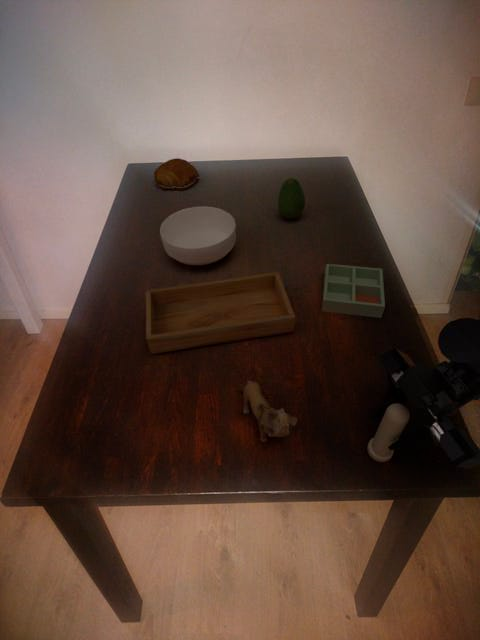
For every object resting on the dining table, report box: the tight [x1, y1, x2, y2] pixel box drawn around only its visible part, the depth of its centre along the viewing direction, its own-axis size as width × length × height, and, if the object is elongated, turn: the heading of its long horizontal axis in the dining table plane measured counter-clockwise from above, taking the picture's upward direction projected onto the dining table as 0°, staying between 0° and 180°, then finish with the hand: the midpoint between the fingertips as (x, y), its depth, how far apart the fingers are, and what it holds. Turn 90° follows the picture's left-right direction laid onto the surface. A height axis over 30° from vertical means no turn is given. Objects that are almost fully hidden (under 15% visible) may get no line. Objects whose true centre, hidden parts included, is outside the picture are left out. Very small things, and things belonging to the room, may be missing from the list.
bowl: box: [159, 205, 237, 266], centre depth 102 cm, size 20×20×8 cm
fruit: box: [277, 177, 306, 220], centre depth 111 cm, size 8×8×12 cm
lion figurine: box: [237, 380, 298, 443], centre depth 66 cm, size 15×5×9 cm, turn 35°
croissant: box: [153, 157, 200, 192], centre depth 131 cm, size 14×16×8 cm
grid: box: [321, 263, 386, 319], centre depth 89 cm, size 13×13×4 cm
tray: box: [145, 271, 296, 355], centre depth 85 cm, size 31×15×6 cm, turn 100°
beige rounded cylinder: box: [366, 403, 411, 463], centre depth 59 cm, size 4×4×13 cm
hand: (381, 434), depth 59 cm, fingers open, 5 cm apart
